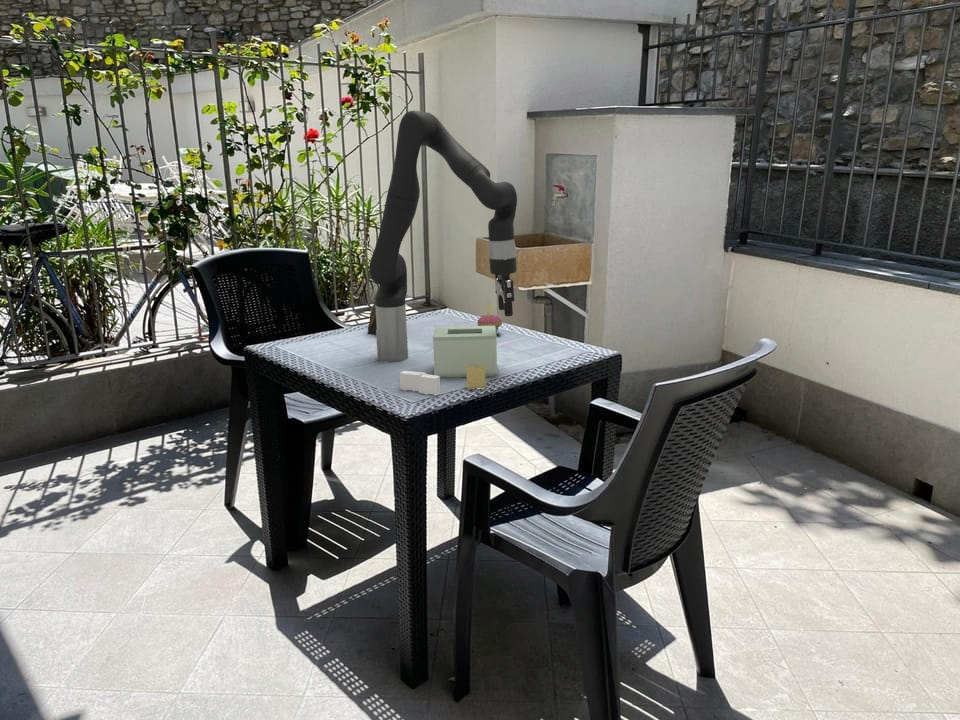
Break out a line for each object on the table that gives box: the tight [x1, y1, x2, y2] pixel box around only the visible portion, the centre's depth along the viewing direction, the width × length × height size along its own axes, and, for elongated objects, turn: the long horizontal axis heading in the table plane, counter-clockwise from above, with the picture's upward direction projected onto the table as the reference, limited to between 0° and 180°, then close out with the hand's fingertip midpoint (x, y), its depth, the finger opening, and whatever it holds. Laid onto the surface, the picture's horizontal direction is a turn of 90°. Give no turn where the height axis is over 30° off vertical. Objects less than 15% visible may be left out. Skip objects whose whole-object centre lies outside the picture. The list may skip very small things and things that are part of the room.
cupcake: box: [477, 299, 503, 335], centre depth 257 cm, size 9×8×12 cm
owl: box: [367, 288, 379, 336], centre depth 262 cm, size 13×13×20 cm
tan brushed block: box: [466, 365, 487, 389], centre depth 204 cm, size 5×3×6 cm, turn 90°
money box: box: [432, 325, 498, 378], centre depth 218 cm, size 18×12×12 cm, turn 91°
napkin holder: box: [399, 370, 441, 396], centre depth 201 cm, size 15×11×6 cm
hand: (505, 312), depth 211 cm, fingers open, 8 cm apart
